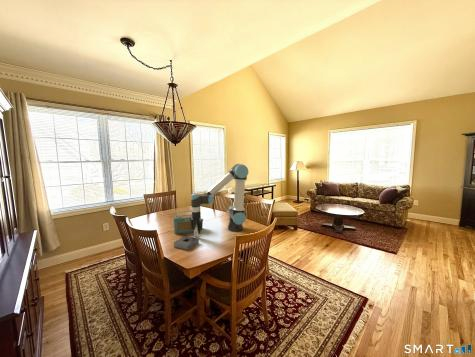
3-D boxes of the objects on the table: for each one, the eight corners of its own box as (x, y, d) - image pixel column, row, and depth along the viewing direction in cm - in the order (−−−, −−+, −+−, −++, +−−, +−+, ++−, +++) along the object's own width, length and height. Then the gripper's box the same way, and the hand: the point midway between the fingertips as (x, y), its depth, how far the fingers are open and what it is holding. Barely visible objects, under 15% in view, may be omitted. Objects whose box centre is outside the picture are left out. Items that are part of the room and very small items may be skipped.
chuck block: (198, 243, 166) (198, 238, 166) (187, 250, 154) (187, 245, 153) (185, 240, 173) (185, 235, 172) (174, 246, 160) (173, 242, 160)
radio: (173, 234, 187) (172, 213, 184) (174, 230, 197) (173, 210, 195) (201, 231, 192) (200, 211, 189) (201, 227, 202) (200, 208, 200)
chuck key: (200, 237, 179) (200, 224, 178) (196, 239, 174) (195, 226, 172) (197, 236, 180) (197, 223, 179) (193, 239, 175) (193, 225, 174)
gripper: (206, 211, 174) (207, 236, 177) (191, 209, 181) (192, 233, 184) (200, 213, 167) (201, 240, 170) (186, 211, 174) (187, 236, 177)
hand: (197, 236), depth 177 cm, fingers closed on chuck key, 3 cm apart
